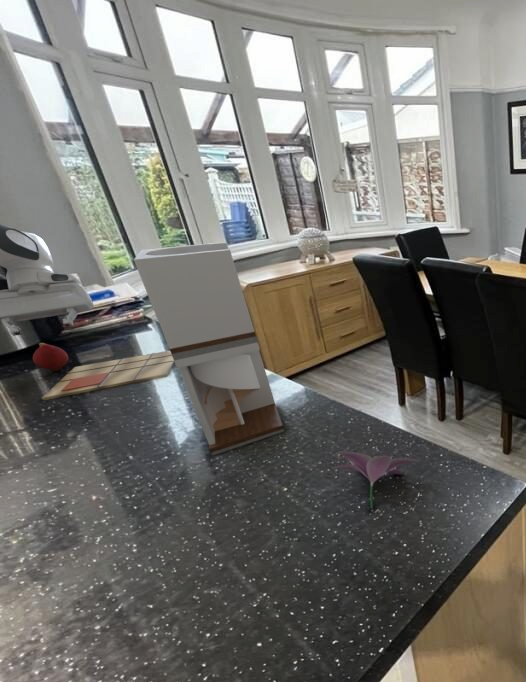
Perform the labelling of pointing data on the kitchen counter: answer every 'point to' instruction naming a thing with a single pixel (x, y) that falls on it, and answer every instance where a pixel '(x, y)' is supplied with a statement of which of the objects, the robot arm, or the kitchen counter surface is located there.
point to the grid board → (112, 374)
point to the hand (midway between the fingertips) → (43, 329)
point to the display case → (211, 341)
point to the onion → (50, 357)
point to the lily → (373, 466)
